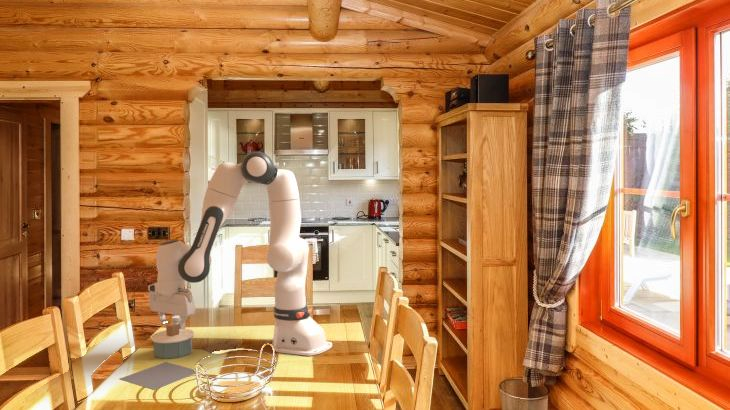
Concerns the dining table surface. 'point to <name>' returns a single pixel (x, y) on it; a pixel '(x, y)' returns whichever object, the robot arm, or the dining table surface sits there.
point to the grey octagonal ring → (172, 349)
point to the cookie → (222, 346)
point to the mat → (159, 375)
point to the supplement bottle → (176, 320)
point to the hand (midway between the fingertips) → (172, 326)
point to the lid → (172, 334)
